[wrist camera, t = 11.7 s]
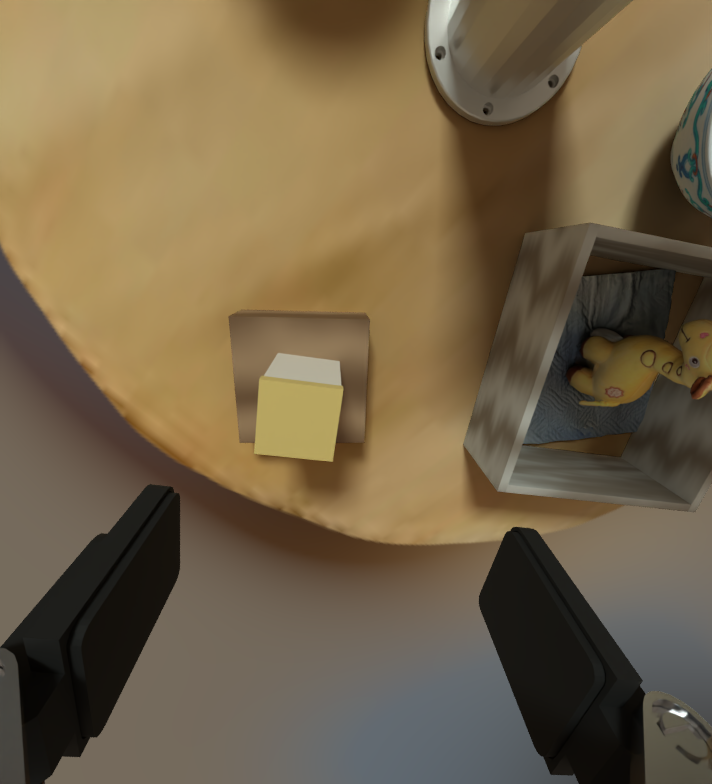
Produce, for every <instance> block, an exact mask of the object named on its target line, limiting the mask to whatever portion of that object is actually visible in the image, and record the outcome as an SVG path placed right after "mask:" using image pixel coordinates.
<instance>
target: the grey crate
mask: <svg viewBox="0 0 712 784" xmlns="http://www.w3.org/2000/svg"><path fill="white" fill-rule="evenodd" d="M590 255H592V256H597V257H603V258H608V259H613V260H618V261H624V262H629V263H634V264H639V265H644V266H650V267H655V268H660V269H670V270H675V271H676V272H681V273H686V274H691V275H697V276H702V277H704V279H703V281H702V283H701V285H700V288H699V290H698V292H697V294H696V296H695V298H694V300H693V303H692V305H691V307H690V309H689V311H688V313H687V316H686V318H685V320H684V322H683V324H685V323H688V322H690V321H693V320H698V319H708V320H712V247H708V246H703V245H698V244H693V243H688V242H683V241H678V240H673V239H668V238H664V237H659V236H654V235H649V234H644V233H639V232H634V231H629V230H624V229H619V228H614V227H609V226H604V225H599V224H595V223H585V224H579V225H573V226H566V227H560V228H554V229H548V230H542V231H535V232H529V233H525V236H524V239H523V243H522V246H521V249H520V253H519V256H518V260H517V263H516V266H515V270H514V273H513V277H512V280H511V283H510V287H509V290H508V294H507V297H506V300H505V304H504V307H503V311H502V314H501V317H500V321H499V324H498V328H497V331H496V335H495V338H494V341H493V345H492V348H491V352H490V355H489V358H488V362H487V365H486V369H485V372H484V375H483V379H482V382H481V386H480V389H479V392H478V396H477V399H476V403H475V406H474V409H473V413H472V416H471V420H470V423H469V426H468V430H467V433H466V437H465V440H464V443H463V445H464V446H465V448H466V449H467V450H468V452H469V453H470V454H471V456H472V457H473V459H474V460H475V461H476V463H477V464H478V465H479V467H480V468H481V470H482V471H483V472H484V474H485V475H486V476H487V478H488V479H489V481H490V482H491V483H492V485H493V486H494V488H495V489H496V490H497V491H499V492H508V493H517V494H527V495H536V496H546V497H555V498H565V499H574V500H584V501H593V502H602V503H612V504H621V505H631V506H641V507H650V508H659V509H669V510H678V511H687V512H695V511H696V510H697V508H698V506H699V504H700V503H701V501H702V499H703V498H704V496H705V494H706V492H707V491H708V489H709V487H710V485H711V484H712V391H710V392H708V393H707V394H706V395H705V396H704V397H702V398H700V399H692V397H691V393H690V390H691V388H689V387H687V386H685V385H682V384H678V383H675V382H673V381H672V380H670V379H668V378H667V377H665V376H664V375H662V374H659V376H658V378H657V380H656V382H655V385H654V387H653V389H652V391H651V394H650V397H649V401H648V405H647V408H646V412H645V415H644V418H643V421H642V422H641V424H640V426H639V427H638V430H637V432H632V434H631V436H630V438H629V441H628V443H627V445H626V447H625V449H624V451H623V454H622V456H621V457H614V456H606V455H598V454H590V453H582V452H574V451H565V450H557V449H549V448H541V447H533V446H525V445H522V444H523V442H524V439H525V436H526V433H527V430H528V427H529V425H530V422H531V419H532V416H533V413H534V411H535V408H536V405H537V402H538V399H539V397H540V394H541V391H542V388H543V385H544V382H545V380H546V377H547V374H548V371H549V368H550V366H551V363H552V360H553V357H554V354H555V352H556V349H557V346H558V343H559V340H560V337H561V335H562V332H563V329H564V326H565V323H566V321H567V318H568V315H569V312H570V309H571V306H572V304H573V301H574V298H575V295H576V292H577V290H578V287H579V284H580V281H581V278H582V276H583V273H584V270H585V267H586V264H587V261H588V259H589V256H590ZM683 324H682V325H683ZM680 329H681V328H680ZM679 333H680V331H679ZM679 333H678V335H677V337H676V339H675V341H674V344H673V345H674V346H675V347H676V348H678V349H679V350H681V351H682V349H681V346H680V343H679V339H678V336H679Z"/></svg>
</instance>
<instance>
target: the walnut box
mask: <svg viewBox="0 0 712 784" xmlns="http://www.w3.org/2000/svg"><path fill="white" fill-rule="evenodd" d="M369 325H370V319H369V318H368V316H367V315H366V313H354V312H314V311H274V310H240V311H238V312H236V313H234V314H232V315H230V316H229V326H230V337H231V349H232V360H233V371H234V383H235V394H236V406H237V417H238V428H239V440H240V443H255V435H256V420H257V405H258V390H259V379H260V377H261V376H264V375H265V373H266V371H267V370H268V368H269V367H270V365H271V363H272V362H273V360H274V358H275V357H276V355H277V354H278V353H282V354H290V355H297V356H305V357H312V358H320V359H327V360H335V361H340V372H341V386H343V396H342V403H341V410H340V416H339V423H338V429H337V436H336V443H364V437H365V414H366V392H367V370H368V348H369Z"/></svg>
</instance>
